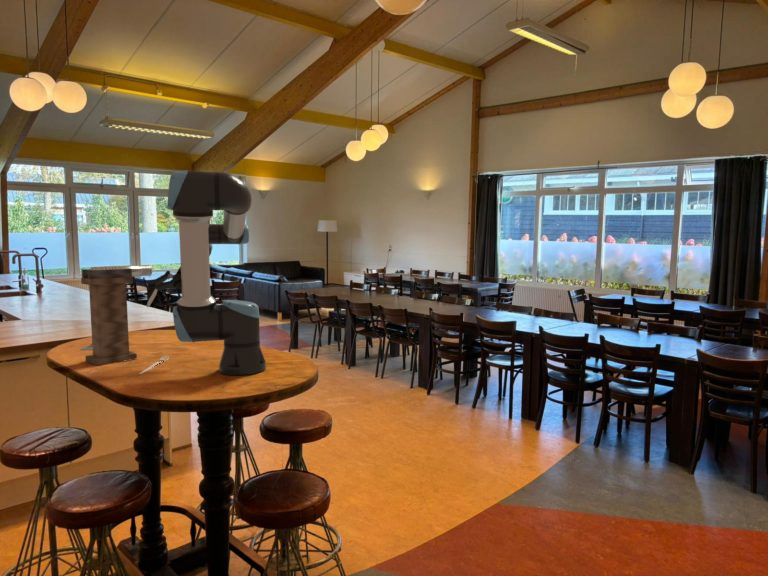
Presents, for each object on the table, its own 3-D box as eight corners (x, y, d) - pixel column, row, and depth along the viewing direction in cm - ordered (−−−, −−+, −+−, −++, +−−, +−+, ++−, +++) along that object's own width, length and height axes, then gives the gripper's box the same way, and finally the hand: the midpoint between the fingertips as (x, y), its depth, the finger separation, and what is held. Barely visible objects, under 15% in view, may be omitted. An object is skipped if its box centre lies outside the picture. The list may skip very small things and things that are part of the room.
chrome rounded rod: (147, 274, 201) (147, 263, 200) (152, 276, 198) (152, 266, 198) (90, 276, 187) (90, 265, 186) (94, 279, 184) (94, 268, 183)
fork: (134, 376, 173) (134, 370, 172) (161, 360, 192) (161, 355, 192) (144, 376, 173) (144, 370, 172) (170, 360, 192) (170, 355, 192)
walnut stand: (126, 355, 200) (122, 267, 197) (136, 359, 193) (132, 268, 190) (85, 361, 190) (80, 269, 187) (95, 365, 183) (90, 270, 180)
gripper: (220, 289, 203) (201, 330, 188) (155, 264, 197) (130, 305, 182) (224, 276, 198) (205, 318, 183) (158, 251, 192) (132, 292, 177)
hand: (168, 312), depth 183 cm, fingers open, 13 cm apart
